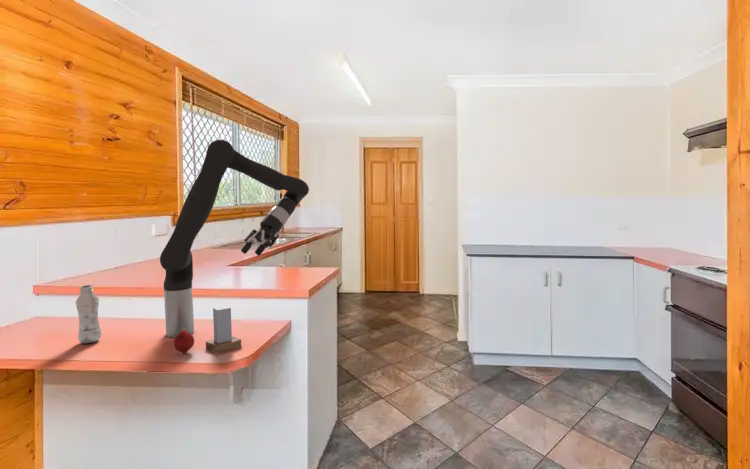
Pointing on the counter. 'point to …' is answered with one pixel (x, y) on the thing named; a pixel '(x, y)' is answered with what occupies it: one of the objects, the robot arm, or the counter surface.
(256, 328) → the counter surface
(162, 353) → the counter surface
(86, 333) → the plastic bottle
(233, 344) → the base slab
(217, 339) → the pillar
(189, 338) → the onion
